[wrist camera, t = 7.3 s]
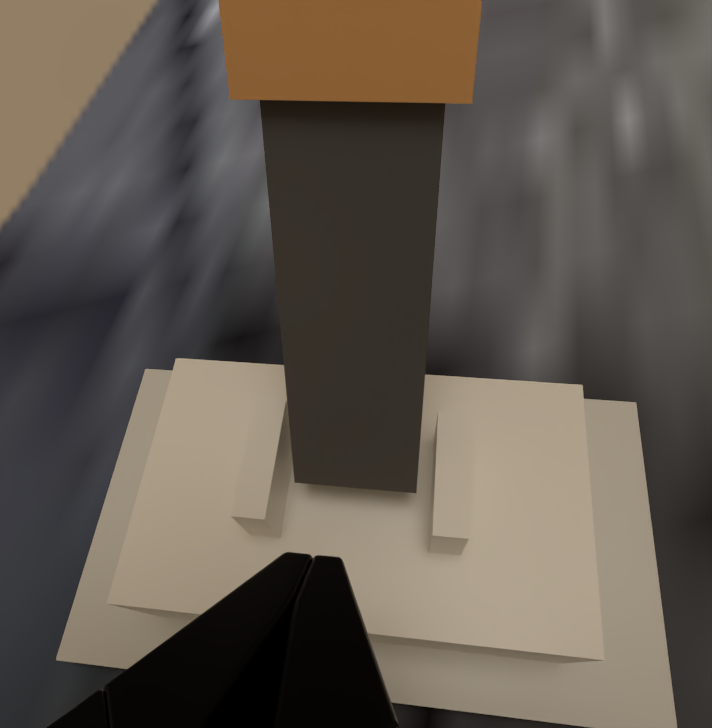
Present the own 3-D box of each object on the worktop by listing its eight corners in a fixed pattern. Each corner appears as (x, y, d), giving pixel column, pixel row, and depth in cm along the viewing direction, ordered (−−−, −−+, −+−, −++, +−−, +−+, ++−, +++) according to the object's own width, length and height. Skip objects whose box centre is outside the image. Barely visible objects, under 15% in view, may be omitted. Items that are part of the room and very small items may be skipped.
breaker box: (660, 734, 17) (819, 770, 11) (75, 661, 19) (-90, 653, 12) (624, 416, 22) (719, 307, 15) (156, 382, 23) (67, 274, 17)
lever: (432, 504, 14) (484, -23, 8) (275, 490, 14) (215, -21, 8) (434, 447, 15) (477, -25, 10) (293, 436, 16) (253, -23, 10)
